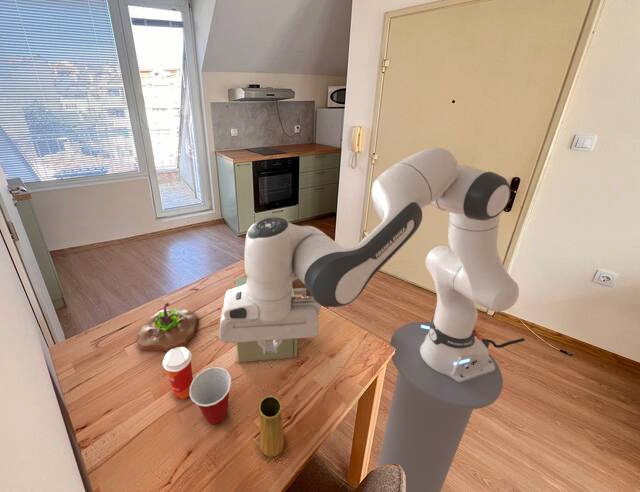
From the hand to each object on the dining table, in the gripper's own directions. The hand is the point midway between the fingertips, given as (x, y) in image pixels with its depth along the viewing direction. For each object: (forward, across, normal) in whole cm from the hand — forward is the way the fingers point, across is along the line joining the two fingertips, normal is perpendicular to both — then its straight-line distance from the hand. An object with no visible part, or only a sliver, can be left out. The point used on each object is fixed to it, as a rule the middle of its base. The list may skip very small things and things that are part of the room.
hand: (269, 351), depth 63 cm
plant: (+31, +35, -40) cm, 62 cm away
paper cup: (+31, +25, -16) cm, 42 cm away
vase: (+30, 0, +1) cm, 30 cm away
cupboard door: (+30, -13, -34) cm, 47 cm away
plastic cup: (+30, +15, -8) cm, 35 cm away
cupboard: (+30, 0, -34) cm, 45 cm away
